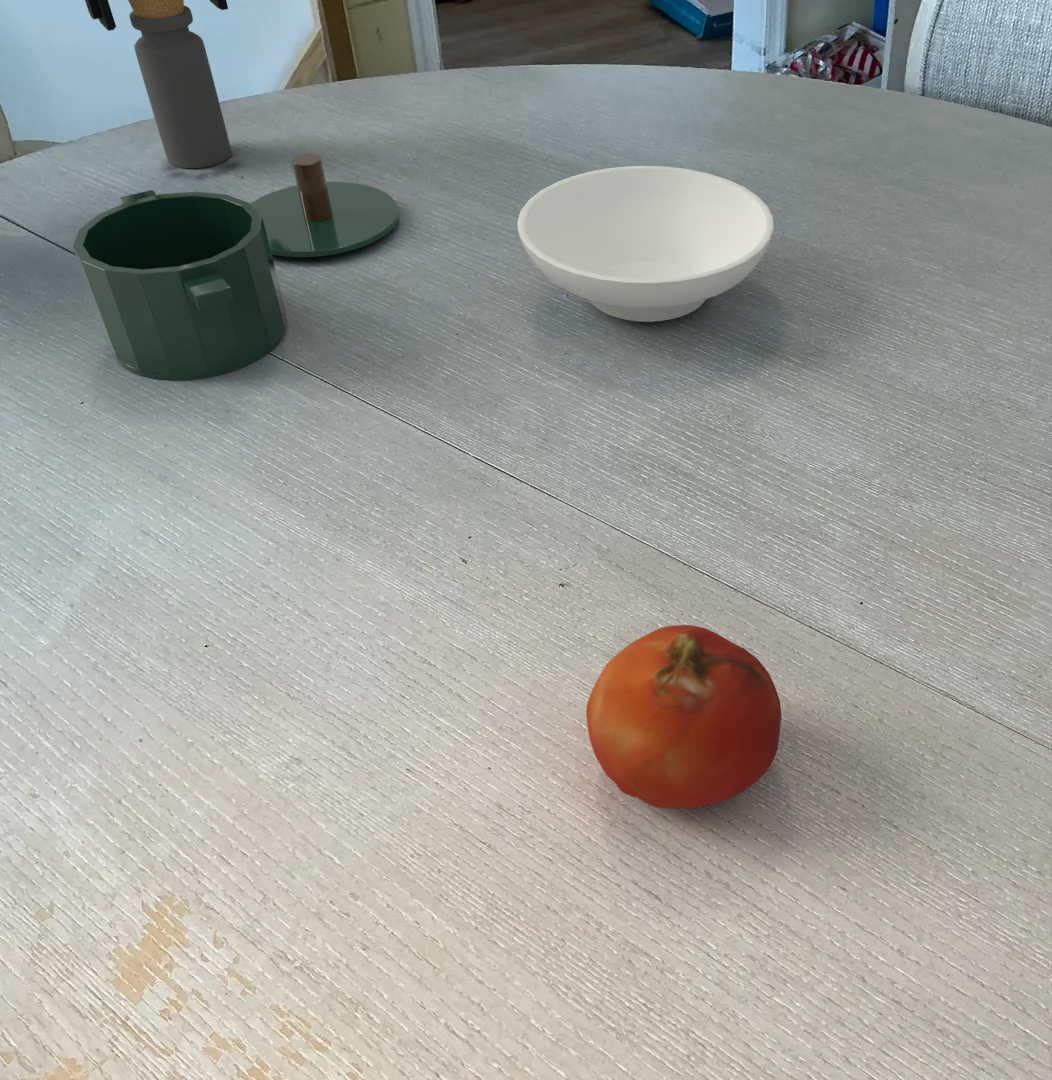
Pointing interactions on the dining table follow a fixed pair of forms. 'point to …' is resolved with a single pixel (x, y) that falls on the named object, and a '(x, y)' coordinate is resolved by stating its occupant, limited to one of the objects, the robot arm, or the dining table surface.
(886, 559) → the dining table surface
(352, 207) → the lid
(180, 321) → the pot
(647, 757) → the tomato
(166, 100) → the bottle
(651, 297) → the bowl
